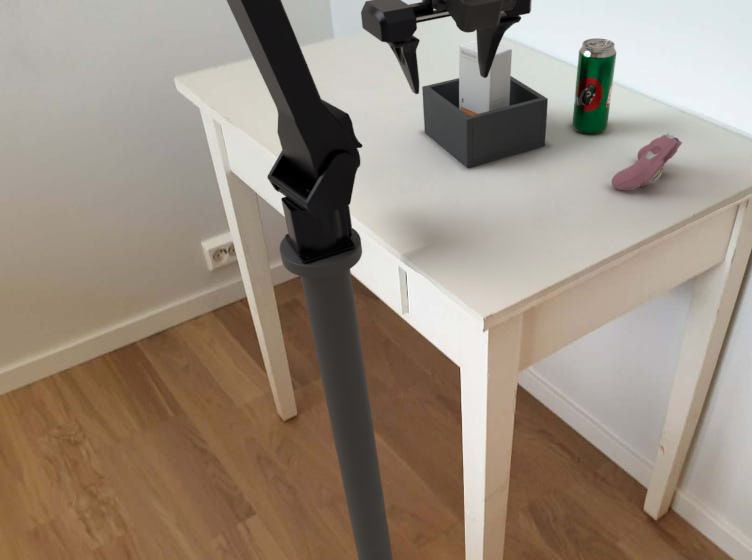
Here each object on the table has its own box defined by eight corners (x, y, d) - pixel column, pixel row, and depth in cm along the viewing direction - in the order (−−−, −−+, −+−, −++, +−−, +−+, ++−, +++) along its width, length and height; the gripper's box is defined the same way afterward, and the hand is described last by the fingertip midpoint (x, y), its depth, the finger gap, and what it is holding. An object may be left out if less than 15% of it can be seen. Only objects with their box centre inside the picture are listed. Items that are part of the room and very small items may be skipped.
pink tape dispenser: (633, 208, 93) (665, 169, 87) (605, 185, 93) (636, 145, 87) (662, 175, 99) (694, 137, 93) (636, 154, 99) (666, 115, 93)
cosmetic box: (457, 131, 104) (457, 44, 96) (478, 122, 106) (479, 37, 98) (488, 144, 101) (491, 56, 93) (509, 135, 103) (513, 48, 95)
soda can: (611, 133, 105) (623, 48, 97) (578, 137, 104) (586, 51, 96) (600, 119, 108) (609, 35, 100) (567, 122, 108) (574, 38, 100)
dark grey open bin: (467, 168, 98) (466, 119, 93) (424, 132, 106) (422, 86, 101) (545, 145, 102) (548, 98, 98) (498, 113, 111) (498, 68, 106)
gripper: (398, -33, 67) (410, 128, 78) (565, -61, 74) (554, 91, 84) (351, -59, 74) (367, 92, 85) (506, -82, 81) (503, 61, 91)
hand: (450, 84), depth 86 cm, fingers open, 9 cm apart
